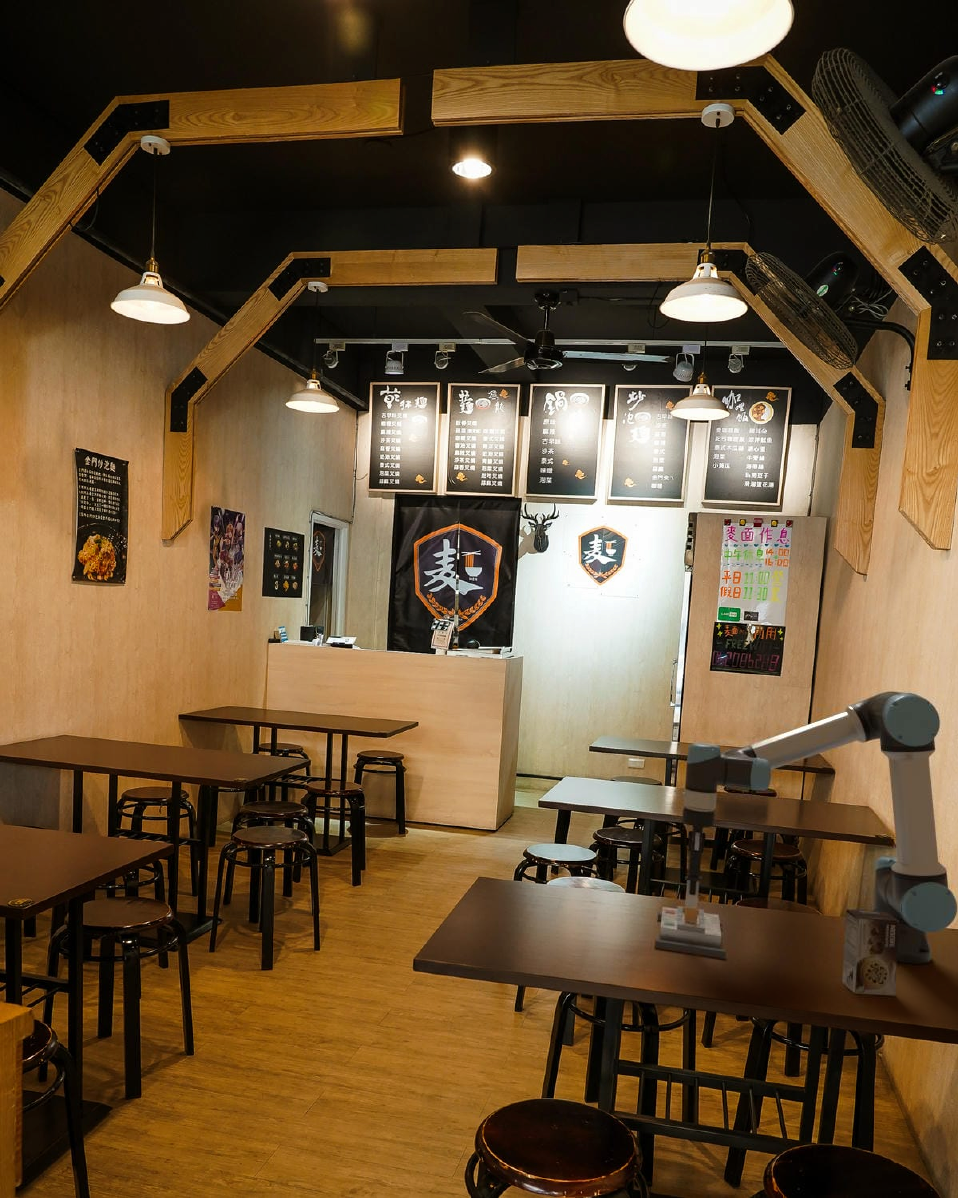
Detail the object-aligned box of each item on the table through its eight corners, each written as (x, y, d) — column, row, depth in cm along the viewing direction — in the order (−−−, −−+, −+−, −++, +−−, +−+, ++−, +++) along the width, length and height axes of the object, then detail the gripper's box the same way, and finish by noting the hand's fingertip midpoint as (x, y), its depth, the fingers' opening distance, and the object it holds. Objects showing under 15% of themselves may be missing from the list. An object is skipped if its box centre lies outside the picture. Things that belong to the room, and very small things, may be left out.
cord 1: (721, 928, 229) (721, 922, 229) (721, 930, 227) (721, 923, 227) (657, 919, 233) (658, 912, 233) (657, 920, 231) (657, 914, 231)
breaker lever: (696, 919, 220) (698, 899, 220) (696, 921, 218) (698, 901, 218) (684, 917, 221) (685, 897, 221) (684, 920, 219) (685, 899, 219)
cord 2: (724, 956, 207) (725, 949, 207) (725, 959, 206) (725, 952, 206) (654, 945, 211) (655, 939, 211) (654, 948, 209) (655, 941, 209)
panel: (717, 931, 226) (718, 911, 227) (720, 953, 209) (721, 932, 209) (661, 922, 230) (662, 903, 230) (659, 944, 212) (660, 923, 212)
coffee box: (881, 985, 197) (885, 911, 198) (896, 997, 191) (900, 920, 191) (840, 982, 197) (845, 908, 197) (854, 994, 190) (859, 917, 191)
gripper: (683, 802, 222) (675, 898, 221) (683, 810, 210) (674, 912, 208) (714, 806, 221) (706, 902, 219) (716, 815, 208) (707, 917, 207)
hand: (691, 907), depth 214 cm, fingers closed
